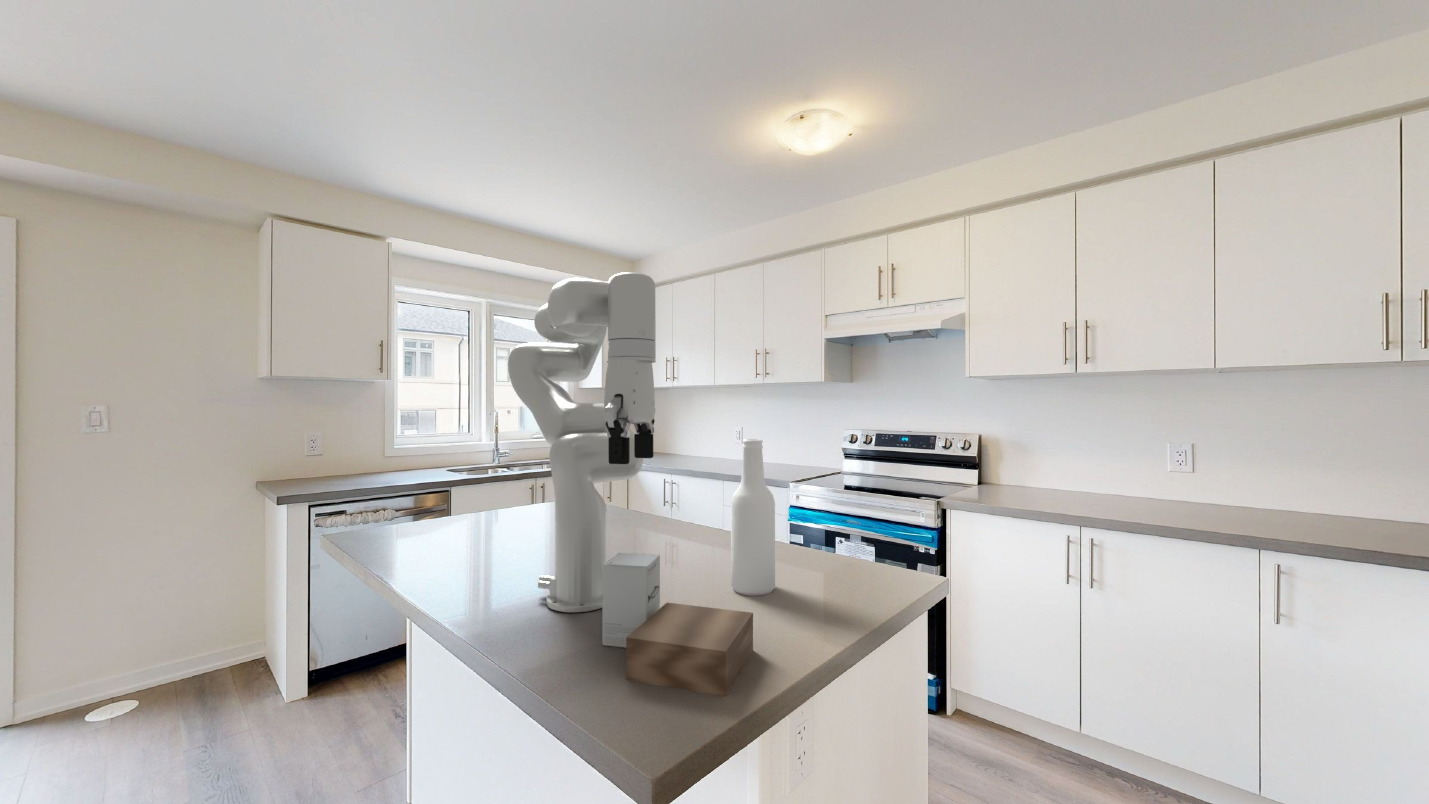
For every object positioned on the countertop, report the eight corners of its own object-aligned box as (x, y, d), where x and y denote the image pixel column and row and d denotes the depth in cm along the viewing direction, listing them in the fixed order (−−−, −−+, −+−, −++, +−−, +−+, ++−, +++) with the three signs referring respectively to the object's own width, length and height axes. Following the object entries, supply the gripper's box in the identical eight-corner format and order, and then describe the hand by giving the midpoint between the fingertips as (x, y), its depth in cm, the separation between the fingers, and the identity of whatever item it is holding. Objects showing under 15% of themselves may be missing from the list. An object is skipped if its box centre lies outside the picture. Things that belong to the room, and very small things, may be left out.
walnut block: (626, 682, 75) (626, 637, 75) (667, 640, 88) (667, 602, 88) (725, 699, 71) (725, 651, 71) (753, 652, 84) (753, 612, 84)
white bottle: (746, 579, 118) (745, 437, 118) (783, 587, 113) (782, 439, 113) (722, 591, 111) (722, 439, 111) (761, 599, 106) (760, 441, 106)
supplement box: (647, 650, 84) (646, 566, 84) (600, 646, 86) (600, 563, 86) (661, 631, 91) (661, 553, 91) (618, 627, 93) (618, 551, 93)
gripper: (631, 358, 98) (632, 455, 98) (584, 348, 81) (584, 465, 81) (672, 357, 96) (672, 456, 96) (631, 346, 79) (632, 467, 79)
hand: (632, 460), depth 89 cm, fingers open, 9 cm apart
